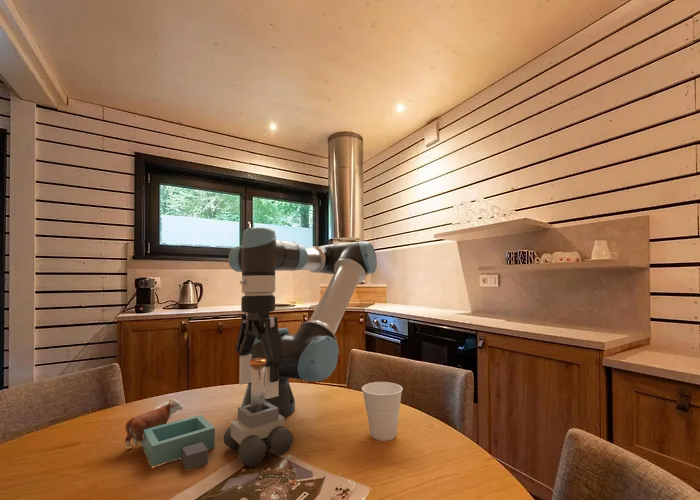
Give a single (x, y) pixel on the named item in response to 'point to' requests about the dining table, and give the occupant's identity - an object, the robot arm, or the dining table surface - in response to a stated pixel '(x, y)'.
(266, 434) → the trolley
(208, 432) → the tray
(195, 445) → the block
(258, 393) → the glass jar
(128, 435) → the bull figurine
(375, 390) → the cup
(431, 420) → the dining table surface
